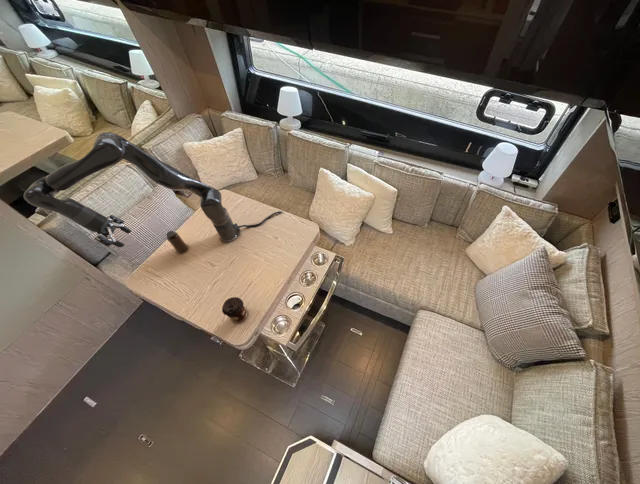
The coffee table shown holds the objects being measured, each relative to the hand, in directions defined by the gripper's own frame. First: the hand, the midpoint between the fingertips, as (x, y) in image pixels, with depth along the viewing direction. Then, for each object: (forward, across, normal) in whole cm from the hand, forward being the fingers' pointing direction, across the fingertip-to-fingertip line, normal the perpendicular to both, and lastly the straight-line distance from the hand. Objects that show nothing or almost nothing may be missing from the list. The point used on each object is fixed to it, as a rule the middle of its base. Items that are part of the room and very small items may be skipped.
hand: (126, 238), depth 127 cm
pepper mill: (+25, +9, -4) cm, 27 cm away
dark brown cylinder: (+43, -35, -31) cm, 63 cm away
